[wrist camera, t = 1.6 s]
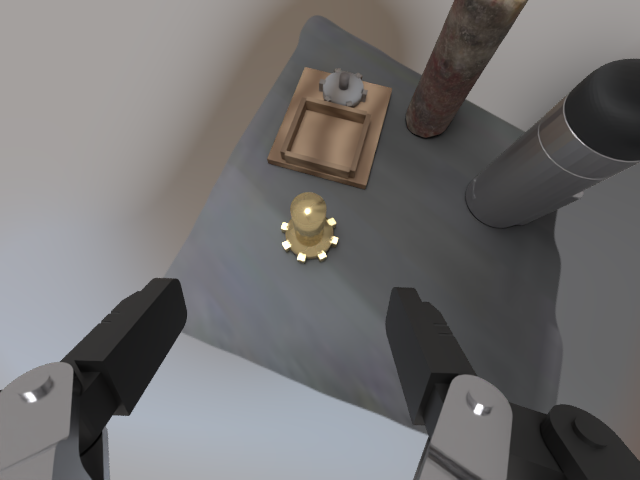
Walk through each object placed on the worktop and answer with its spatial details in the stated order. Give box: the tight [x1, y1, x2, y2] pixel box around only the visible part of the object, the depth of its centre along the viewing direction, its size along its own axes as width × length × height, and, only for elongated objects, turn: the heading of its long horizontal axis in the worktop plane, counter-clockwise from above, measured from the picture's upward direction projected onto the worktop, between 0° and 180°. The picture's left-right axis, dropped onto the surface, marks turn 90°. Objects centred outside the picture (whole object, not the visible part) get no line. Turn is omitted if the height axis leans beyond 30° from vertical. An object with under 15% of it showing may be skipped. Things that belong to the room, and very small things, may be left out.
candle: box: [406, 0, 528, 138], centre depth 36 cm, size 8×7×20 cm
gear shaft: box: [281, 192, 338, 264], centre depth 34 cm, size 8×8×10 cm
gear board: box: [267, 67, 392, 189], centre depth 43 cm, size 16×20×5 cm
